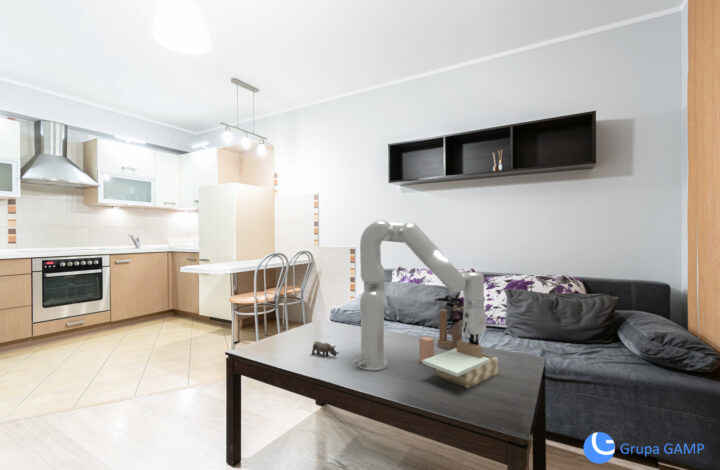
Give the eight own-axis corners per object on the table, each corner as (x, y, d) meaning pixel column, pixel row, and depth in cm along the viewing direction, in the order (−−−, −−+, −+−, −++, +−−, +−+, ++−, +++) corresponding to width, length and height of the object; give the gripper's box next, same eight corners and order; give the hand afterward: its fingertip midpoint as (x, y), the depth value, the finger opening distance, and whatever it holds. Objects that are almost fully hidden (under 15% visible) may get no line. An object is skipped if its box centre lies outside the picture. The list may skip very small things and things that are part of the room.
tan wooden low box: (468, 388, 113) (468, 371, 114) (435, 375, 124) (435, 359, 124) (497, 373, 126) (497, 358, 126) (465, 363, 137) (465, 348, 137)
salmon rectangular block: (427, 364, 135) (427, 340, 135) (419, 361, 138) (419, 338, 139) (433, 362, 137) (433, 338, 138) (425, 359, 141) (425, 336, 141)
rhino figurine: (336, 360, 140) (336, 346, 140) (310, 355, 146) (310, 341, 147) (341, 357, 144) (341, 343, 144) (315, 352, 150) (315, 339, 150)
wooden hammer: (459, 352, 150) (459, 313, 150) (437, 347, 157) (437, 310, 157) (462, 350, 153) (462, 311, 153) (441, 345, 160) (440, 308, 160)
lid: (457, 376, 109) (457, 360, 109) (422, 363, 120) (422, 349, 120) (490, 361, 122) (490, 347, 122) (455, 351, 133) (455, 338, 134)
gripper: (471, 307, 121) (472, 357, 121) (492, 302, 131) (492, 348, 130) (454, 304, 127) (454, 351, 127) (475, 300, 136) (475, 344, 136)
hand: (473, 350), depth 129 cm, fingers closed
